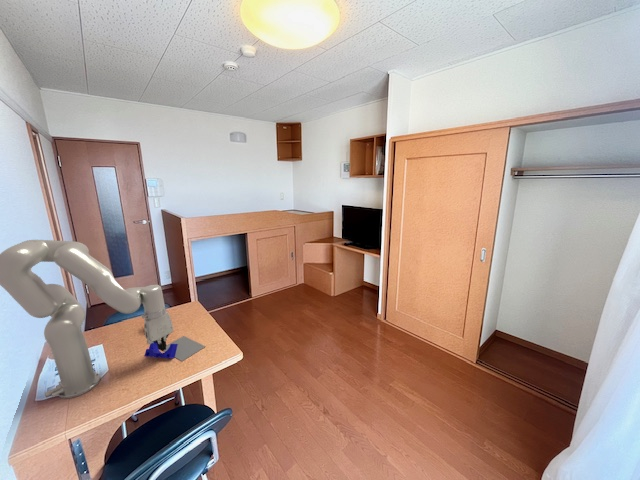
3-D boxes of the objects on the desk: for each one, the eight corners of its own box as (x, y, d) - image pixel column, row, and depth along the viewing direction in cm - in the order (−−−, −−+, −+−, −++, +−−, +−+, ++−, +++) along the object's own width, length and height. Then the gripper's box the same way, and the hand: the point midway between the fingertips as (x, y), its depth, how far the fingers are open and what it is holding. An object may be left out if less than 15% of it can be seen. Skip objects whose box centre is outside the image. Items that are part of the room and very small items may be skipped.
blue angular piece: (144, 356, 117) (148, 341, 119) (151, 355, 121) (155, 341, 123) (167, 358, 115) (171, 344, 117) (174, 357, 119) (177, 344, 121)
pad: (181, 361, 116) (181, 360, 116) (160, 349, 125) (160, 348, 125) (205, 346, 126) (205, 346, 126) (184, 336, 135) (183, 335, 135)
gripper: (141, 323, 105) (149, 362, 109) (177, 307, 117) (183, 342, 121) (132, 318, 109) (140, 356, 113) (168, 303, 121) (174, 338, 125)
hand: (162, 349), depth 117 cm, fingers closed
